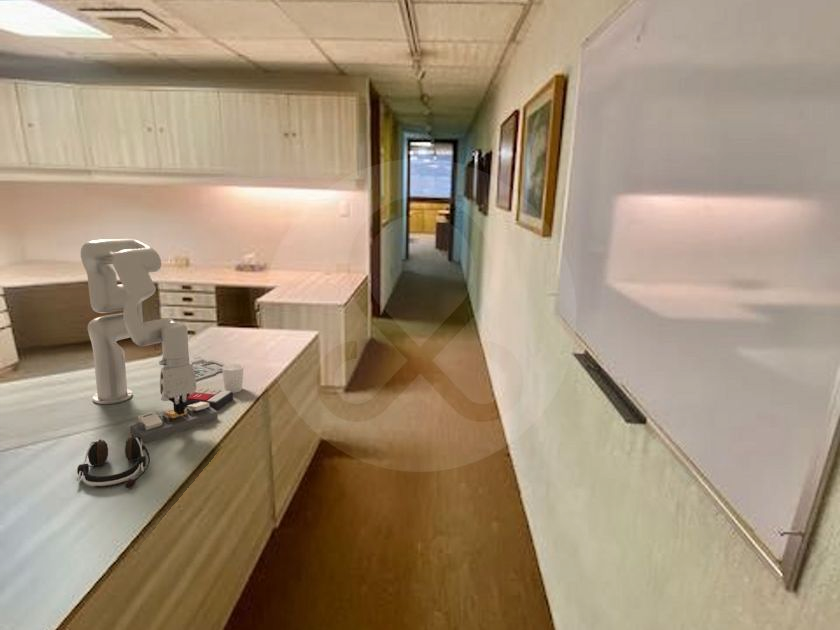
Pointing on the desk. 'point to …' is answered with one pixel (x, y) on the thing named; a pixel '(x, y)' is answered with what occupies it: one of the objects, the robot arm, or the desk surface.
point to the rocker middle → (174, 413)
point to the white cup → (233, 377)
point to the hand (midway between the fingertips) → (179, 412)
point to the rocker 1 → (150, 420)
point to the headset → (99, 456)
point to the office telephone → (204, 368)
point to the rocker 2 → (198, 406)
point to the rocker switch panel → (174, 424)
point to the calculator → (210, 397)
